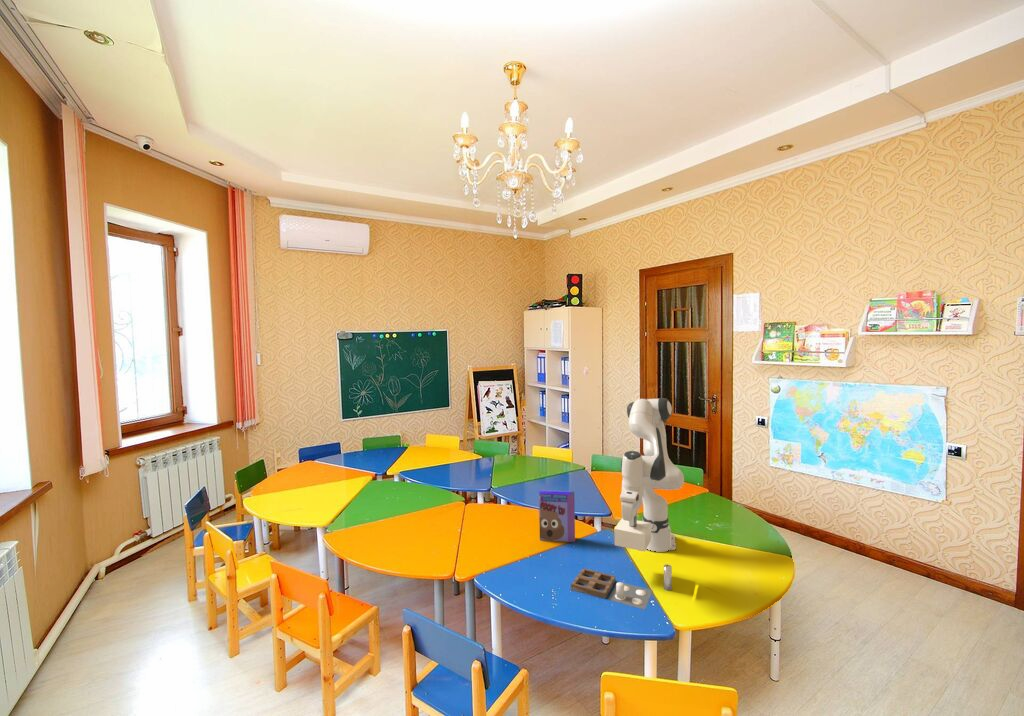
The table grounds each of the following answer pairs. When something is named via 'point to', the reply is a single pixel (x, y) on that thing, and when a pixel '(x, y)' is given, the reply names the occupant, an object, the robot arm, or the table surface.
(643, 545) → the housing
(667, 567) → the steel pin
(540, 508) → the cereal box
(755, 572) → the table surface
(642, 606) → the board
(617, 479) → the table surface
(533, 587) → the table surface
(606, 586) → the socket board
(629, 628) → the table surface
